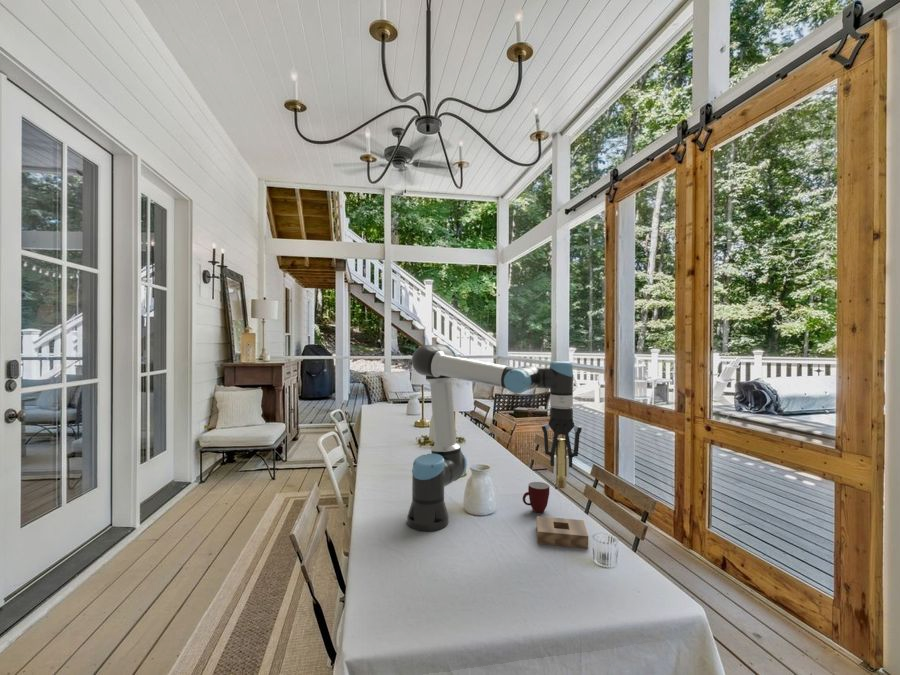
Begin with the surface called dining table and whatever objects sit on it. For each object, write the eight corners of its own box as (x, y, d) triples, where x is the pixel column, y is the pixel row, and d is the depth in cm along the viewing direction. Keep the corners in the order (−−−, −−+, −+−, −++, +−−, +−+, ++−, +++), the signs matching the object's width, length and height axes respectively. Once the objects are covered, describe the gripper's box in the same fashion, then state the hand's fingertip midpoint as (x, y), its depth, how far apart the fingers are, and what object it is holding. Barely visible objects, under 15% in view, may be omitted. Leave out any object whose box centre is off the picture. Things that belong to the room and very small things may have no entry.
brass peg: (556, 488, 141) (556, 440, 141) (555, 484, 144) (555, 438, 144) (566, 488, 140) (566, 440, 140) (565, 485, 144) (566, 438, 144)
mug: (528, 517, 158) (529, 490, 158) (518, 508, 166) (519, 483, 166) (553, 513, 162) (553, 487, 161) (542, 505, 169) (542, 480, 169)
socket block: (537, 543, 138) (537, 531, 138) (536, 527, 150) (536, 516, 150) (588, 548, 135) (588, 536, 135) (583, 531, 147) (583, 520, 147)
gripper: (536, 407, 140) (536, 477, 140) (588, 409, 137) (587, 481, 137) (536, 404, 148) (536, 470, 148) (585, 405, 145) (584, 473, 145)
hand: (561, 475), depth 142 cm, fingers closed on brass peg, 3 cm apart
